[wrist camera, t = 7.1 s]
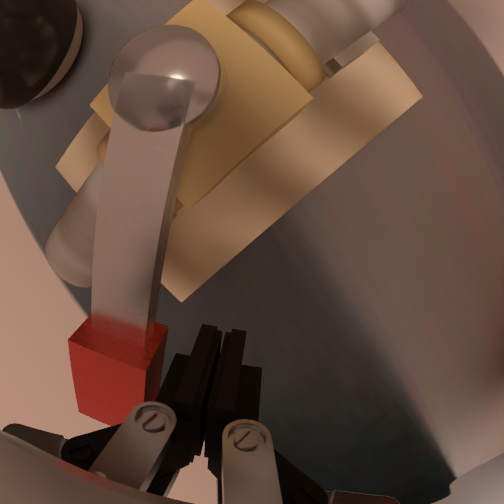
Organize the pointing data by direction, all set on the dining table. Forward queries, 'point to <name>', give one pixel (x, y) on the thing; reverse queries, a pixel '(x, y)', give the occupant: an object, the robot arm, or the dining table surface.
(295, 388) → the dining table surface
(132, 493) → the robot arm
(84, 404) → the valve lever
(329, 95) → the valve bench
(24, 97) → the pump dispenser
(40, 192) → the dining table surface
